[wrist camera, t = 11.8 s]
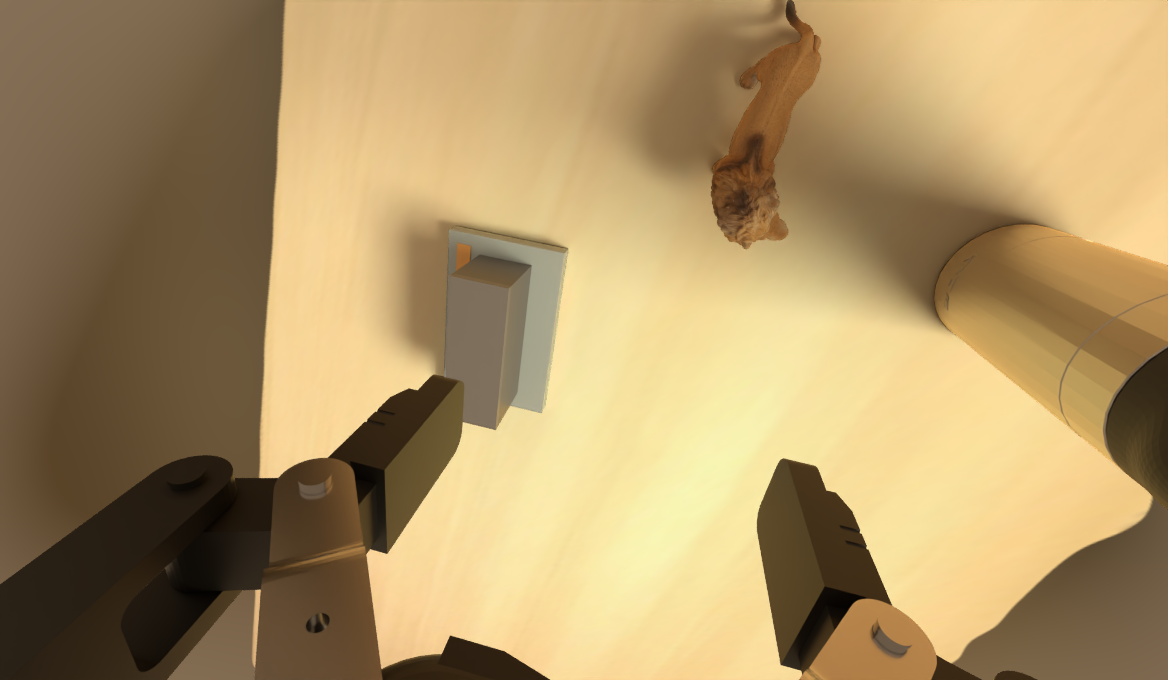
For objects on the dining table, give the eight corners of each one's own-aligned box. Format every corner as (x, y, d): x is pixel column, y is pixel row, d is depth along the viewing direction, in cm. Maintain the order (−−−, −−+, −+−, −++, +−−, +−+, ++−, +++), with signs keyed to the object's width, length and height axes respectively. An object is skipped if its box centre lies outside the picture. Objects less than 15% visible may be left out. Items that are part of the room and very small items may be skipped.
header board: (568, 248, 42) (551, 268, 36) (545, 405, 49) (528, 440, 43) (456, 225, 43) (424, 241, 37) (450, 382, 50) (422, 414, 44)
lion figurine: (767, 230, 38) (790, 261, 30) (698, 220, 39) (702, 248, 31) (827, 5, 32) (877, -31, 24) (744, -2, 32) (764, -40, 24)
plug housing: (531, 265, 41) (508, 288, 36) (517, 393, 47) (495, 430, 41) (479, 254, 42) (449, 275, 36) (471, 382, 47) (444, 417, 42)
